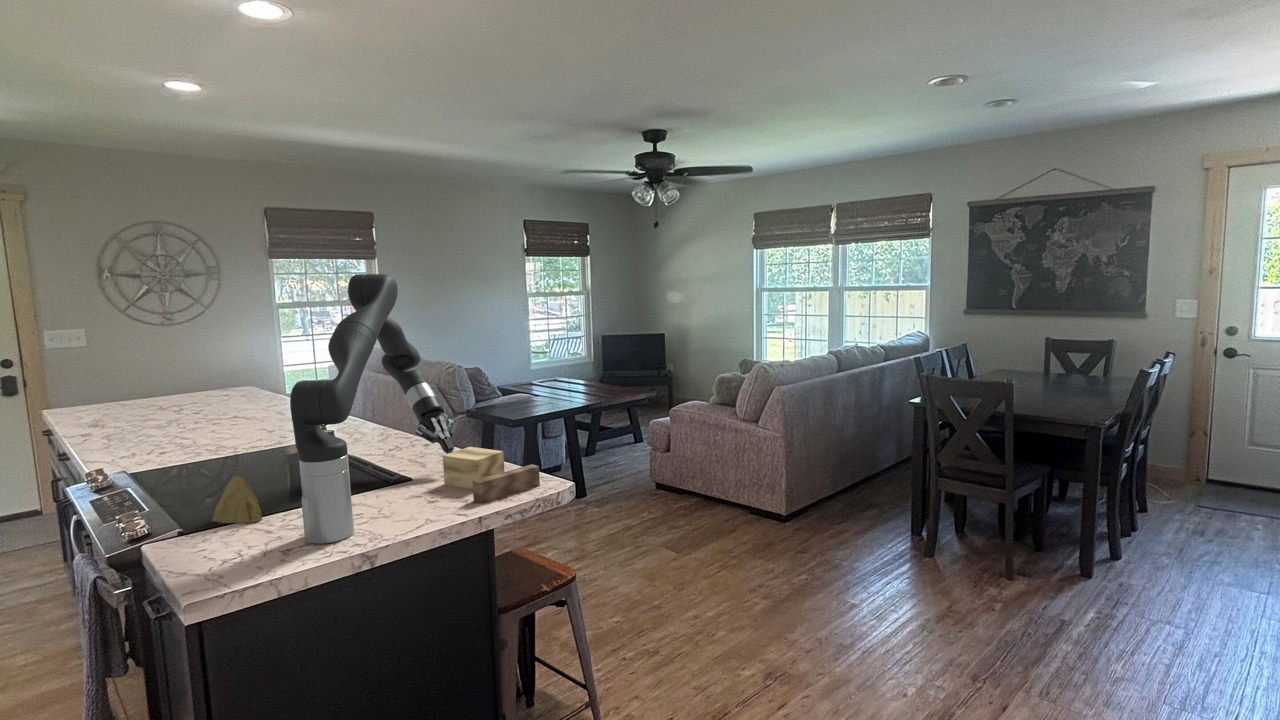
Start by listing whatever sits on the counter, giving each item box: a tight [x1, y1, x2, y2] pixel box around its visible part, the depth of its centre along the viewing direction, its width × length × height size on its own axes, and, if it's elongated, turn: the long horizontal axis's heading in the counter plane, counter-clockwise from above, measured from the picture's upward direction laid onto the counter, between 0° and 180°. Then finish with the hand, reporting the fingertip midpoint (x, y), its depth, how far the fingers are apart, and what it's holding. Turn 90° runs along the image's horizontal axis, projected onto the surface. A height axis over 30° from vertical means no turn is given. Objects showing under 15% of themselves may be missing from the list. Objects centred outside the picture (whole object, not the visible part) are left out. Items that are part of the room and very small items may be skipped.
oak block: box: [442, 446, 505, 491], centre depth 178 cm, size 10×12×8 cm
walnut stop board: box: [472, 463, 541, 504], centre depth 168 cm, size 18×3×5 cm, turn 137°
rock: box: [211, 475, 263, 524], centre depth 153 cm, size 11×9×10 cm
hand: (450, 451), depth 185 cm, fingers closed
